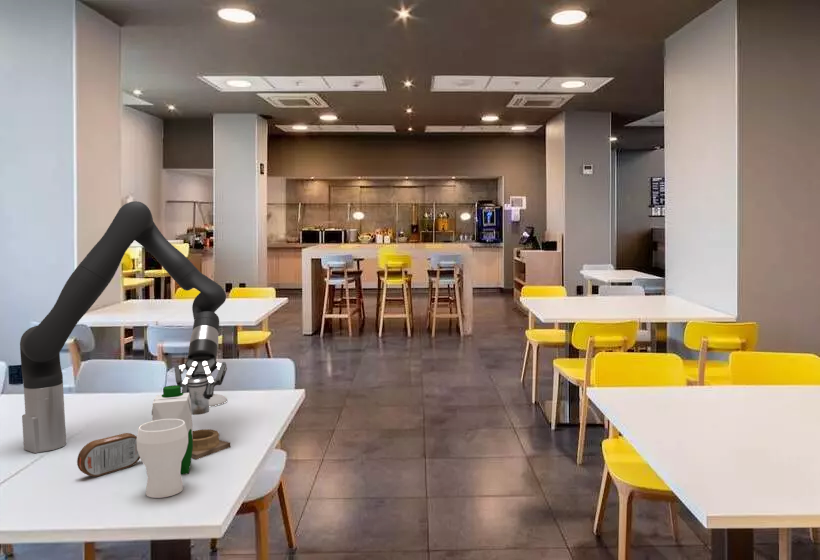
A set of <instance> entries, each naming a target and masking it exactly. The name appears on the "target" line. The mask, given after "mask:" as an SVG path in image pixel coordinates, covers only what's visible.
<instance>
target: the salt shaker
mask: <svg viewBox="0 0 820 560" xmlns="http://www.w3.org/2000/svg"><path fill="white" fill-rule="evenodd" d="M207 385H208V379H207V377H192V378H189V379H187V386H188V393H189V394H190V400H191V412H192V415H194V416H195V415H197V416H198V415H203V414H207V413H209V412H210V407H209V399H207V397H206V394H207Z"/></svg>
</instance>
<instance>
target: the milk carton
mask: <svg viewBox="0 0 820 560" xmlns="http://www.w3.org/2000/svg"><path fill="white" fill-rule="evenodd" d="M162 392H163V394H157V395H156V396H155V398H153V402H152V409H151V415H152V421H155V420H161V419H180V420H183V421H184V422H185V425H186V428H187V432H188V445H187V450H186V453H185V455H184V457H183V459H182V461H181V472H180V473H181V475H187V474H189V473H190V469H191V465H192V451H193V432H192V431H193V416H192V412H191V400H190V394H189V393H182V387H181V386H178V385H177V384H175V385H174V384H173V385H167V386H164V387H163V389H162Z"/></svg>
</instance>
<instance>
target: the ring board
mask: <svg viewBox="0 0 820 560" xmlns="http://www.w3.org/2000/svg"><path fill="white" fill-rule="evenodd" d="M192 432H193V451H192V459H193V460H199V458H200V459H202V458H205V457H207V456H210V455H213V454H215V453H219V452H220V451H224V450H226V449H229V448H231V446H232V445H231V442H229V441H225V440H222V439H220V433H219V432H218V430H215V429H211V428H210V429H206V428H205V429H204V428H203V429H197V430H196V429H195V430H192ZM192 459H191V460H192Z"/></svg>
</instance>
